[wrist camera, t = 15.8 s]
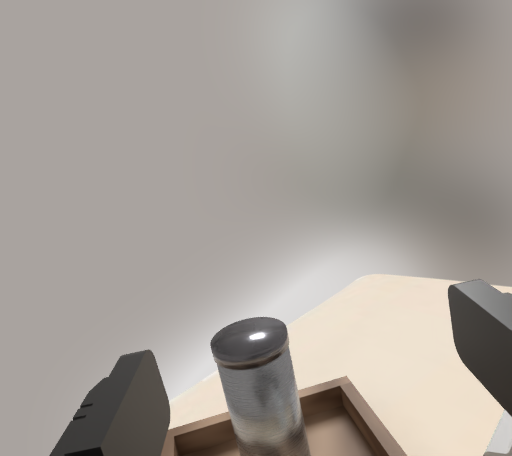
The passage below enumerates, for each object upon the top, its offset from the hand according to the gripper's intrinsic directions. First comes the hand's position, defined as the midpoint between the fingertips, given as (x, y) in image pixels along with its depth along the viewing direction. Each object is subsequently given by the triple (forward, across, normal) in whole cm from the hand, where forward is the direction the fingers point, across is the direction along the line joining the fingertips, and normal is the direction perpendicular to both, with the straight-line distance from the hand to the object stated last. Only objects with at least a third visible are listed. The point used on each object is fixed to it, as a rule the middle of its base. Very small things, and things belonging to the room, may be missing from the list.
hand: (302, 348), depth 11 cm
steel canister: (+12, +3, +18) cm, 22 cm away
